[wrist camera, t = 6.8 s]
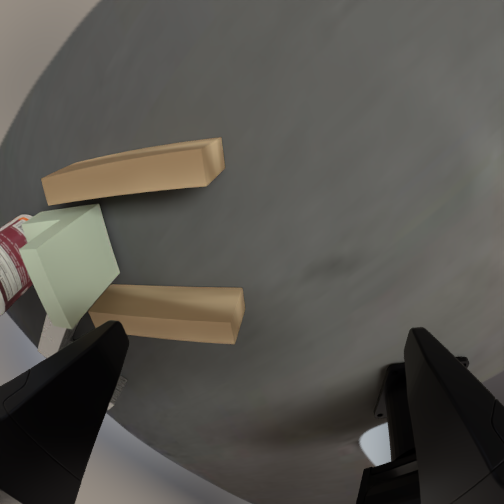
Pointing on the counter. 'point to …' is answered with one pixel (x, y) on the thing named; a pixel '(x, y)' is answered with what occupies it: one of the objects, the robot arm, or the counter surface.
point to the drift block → (68, 260)
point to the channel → (155, 297)
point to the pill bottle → (12, 263)
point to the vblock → (60, 338)
